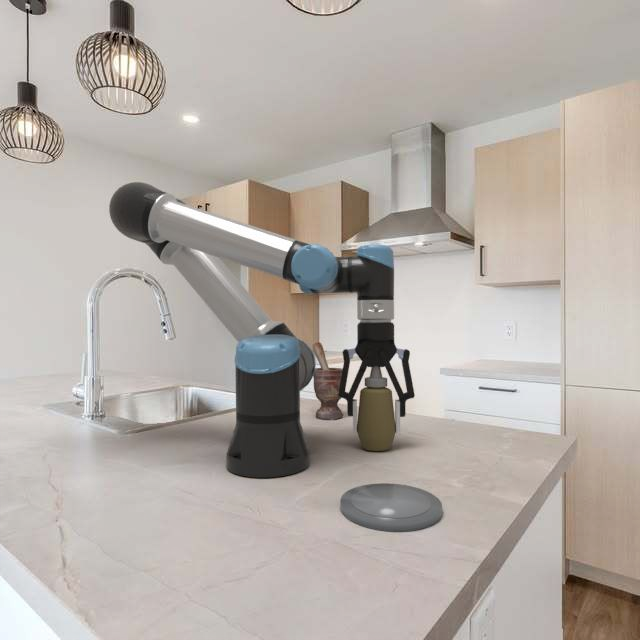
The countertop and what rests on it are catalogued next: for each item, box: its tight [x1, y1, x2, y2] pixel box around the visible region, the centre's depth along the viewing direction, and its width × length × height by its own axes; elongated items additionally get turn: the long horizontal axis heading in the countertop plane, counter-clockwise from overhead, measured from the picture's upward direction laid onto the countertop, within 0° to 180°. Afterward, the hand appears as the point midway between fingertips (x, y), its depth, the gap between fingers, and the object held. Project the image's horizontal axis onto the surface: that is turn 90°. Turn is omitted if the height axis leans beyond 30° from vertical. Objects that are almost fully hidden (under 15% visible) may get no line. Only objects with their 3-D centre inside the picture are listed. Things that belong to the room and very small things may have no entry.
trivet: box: [339, 482, 443, 533], centre depth 64 cm, size 14×14×1 cm
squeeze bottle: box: [357, 366, 396, 452], centre depth 94 cm, size 8×8×18 cm
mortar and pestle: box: [312, 342, 344, 421], centre depth 125 cm, size 12×9×20 cm
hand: (376, 432), depth 94 cm, fingers closed on squeeze bottle, 8 cm apart
